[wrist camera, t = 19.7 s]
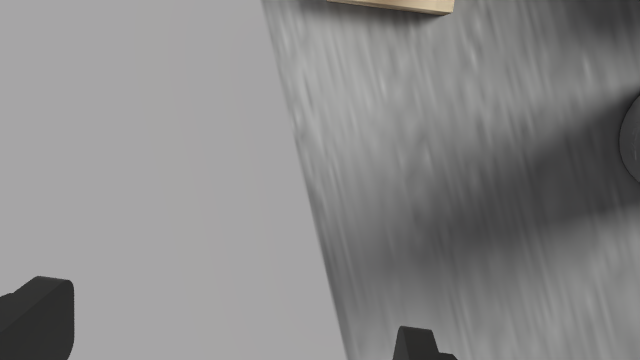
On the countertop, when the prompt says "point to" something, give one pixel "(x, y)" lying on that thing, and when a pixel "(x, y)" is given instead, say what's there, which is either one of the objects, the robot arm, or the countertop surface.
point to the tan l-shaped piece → (408, 5)
